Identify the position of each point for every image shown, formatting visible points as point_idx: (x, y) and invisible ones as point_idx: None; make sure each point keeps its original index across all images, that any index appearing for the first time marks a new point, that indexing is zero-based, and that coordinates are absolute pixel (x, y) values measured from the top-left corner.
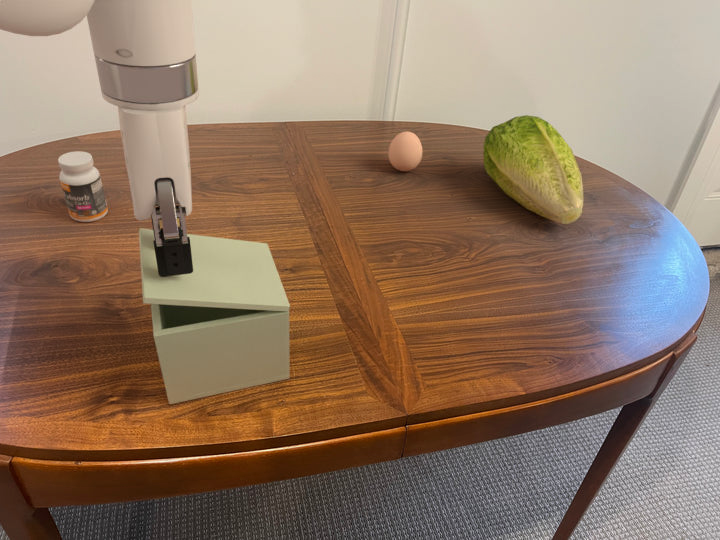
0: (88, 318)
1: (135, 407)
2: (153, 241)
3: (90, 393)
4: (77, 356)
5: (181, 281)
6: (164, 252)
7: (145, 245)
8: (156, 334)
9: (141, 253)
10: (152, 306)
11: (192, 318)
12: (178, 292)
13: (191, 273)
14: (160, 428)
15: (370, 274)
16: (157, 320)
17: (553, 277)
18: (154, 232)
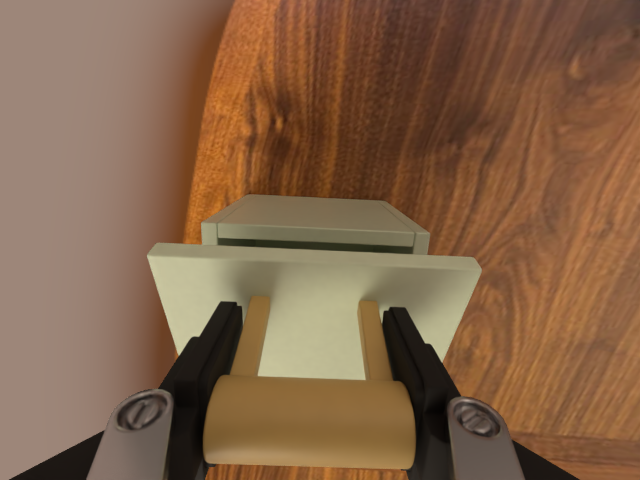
0: (461, 92)
1: (255, 151)
2: (190, 379)
3: (298, 91)
4: (380, 72)
5: None
6: (161, 386)
7: (389, 275)
8: (203, 228)
9: (350, 263)
10: (289, 228)
11: (376, 251)
12: (192, 319)
13: (274, 348)
14: (213, 178)
15: (397, 469)
16: (243, 234)
17: None
18: (397, 325)
